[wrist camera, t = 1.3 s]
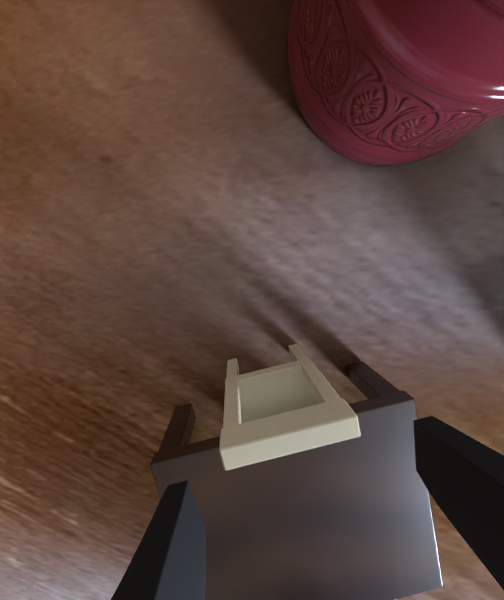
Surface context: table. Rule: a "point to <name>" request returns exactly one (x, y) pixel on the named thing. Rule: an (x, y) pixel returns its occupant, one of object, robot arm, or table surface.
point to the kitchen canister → (396, 73)
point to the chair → (281, 412)
